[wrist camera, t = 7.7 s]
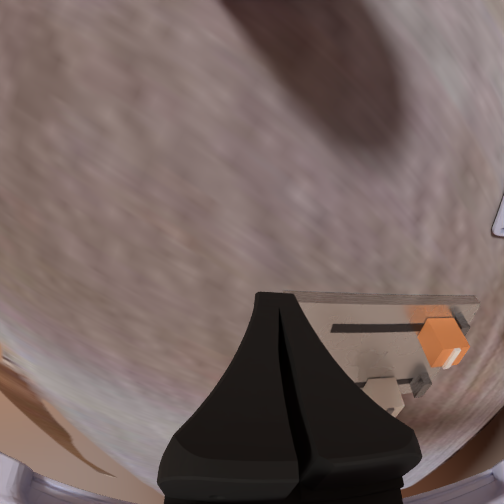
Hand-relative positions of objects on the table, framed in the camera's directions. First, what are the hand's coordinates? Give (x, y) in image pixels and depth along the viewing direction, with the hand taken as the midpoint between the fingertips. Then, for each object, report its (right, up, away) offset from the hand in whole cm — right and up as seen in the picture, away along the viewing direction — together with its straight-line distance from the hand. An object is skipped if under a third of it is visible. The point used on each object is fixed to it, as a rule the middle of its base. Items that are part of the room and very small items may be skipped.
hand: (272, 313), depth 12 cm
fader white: (+12, -11, +16) cm, 23 cm away
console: (+10, -7, +15) cm, 19 cm away
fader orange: (+15, -4, +12) cm, 20 cm away
